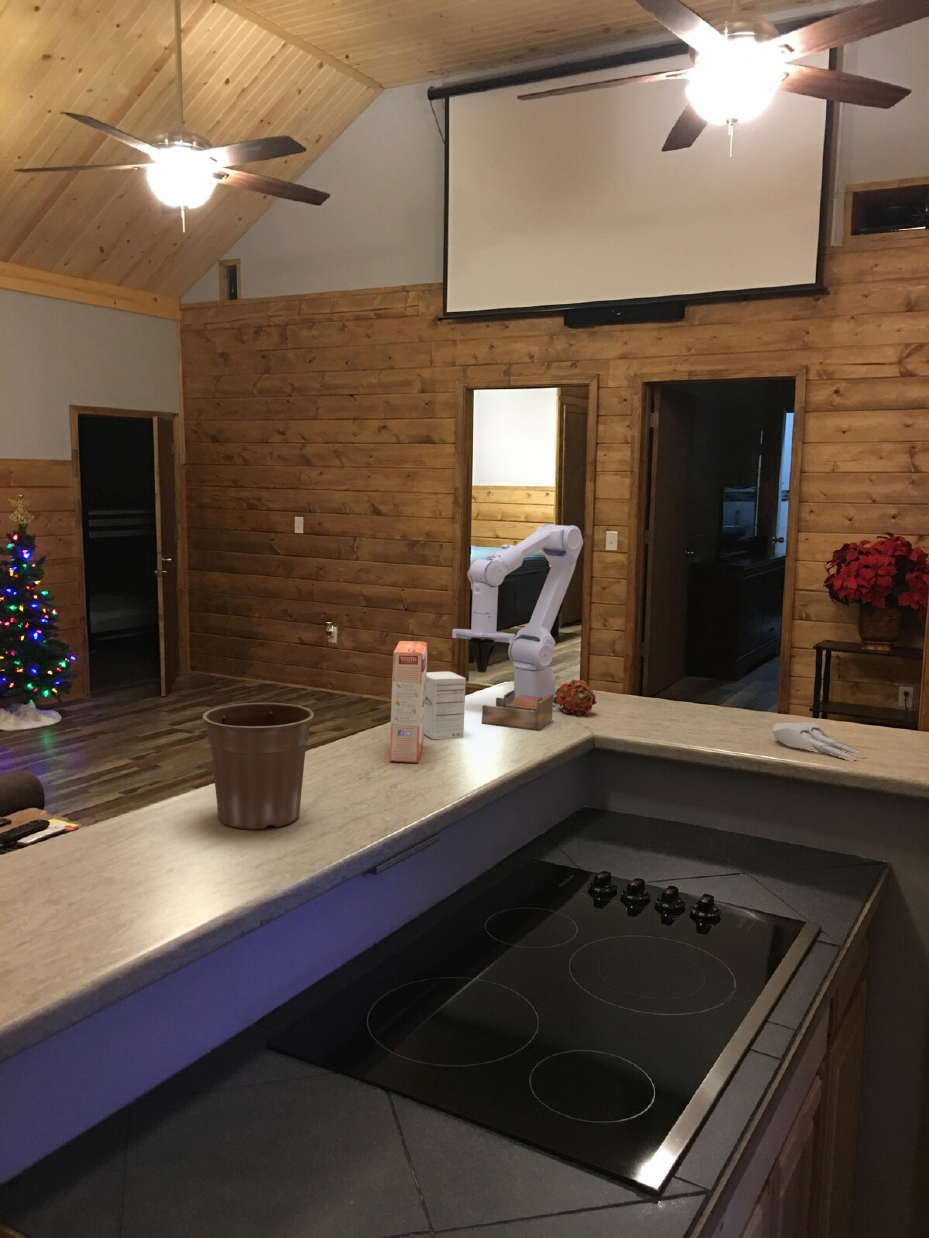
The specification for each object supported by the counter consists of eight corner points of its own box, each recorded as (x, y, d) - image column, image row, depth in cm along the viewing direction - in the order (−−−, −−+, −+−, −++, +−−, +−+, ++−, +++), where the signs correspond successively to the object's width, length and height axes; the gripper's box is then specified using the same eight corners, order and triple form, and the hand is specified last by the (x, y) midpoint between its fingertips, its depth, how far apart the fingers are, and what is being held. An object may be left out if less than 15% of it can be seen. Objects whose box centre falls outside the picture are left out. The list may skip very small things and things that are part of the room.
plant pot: (184, 830, 145) (184, 721, 143) (225, 797, 161) (226, 698, 159) (293, 839, 143) (295, 729, 141) (324, 805, 159) (326, 705, 157)
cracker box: (420, 764, 185) (424, 652, 182) (388, 762, 185) (391, 651, 182) (425, 745, 199) (428, 640, 196) (394, 743, 199) (397, 639, 196)
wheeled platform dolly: (501, 715, 218) (502, 695, 217) (512, 709, 225) (513, 689, 224) (535, 720, 215) (536, 699, 215) (545, 713, 222) (546, 692, 222)
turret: (845, 775, 197) (851, 753, 196) (759, 738, 211) (764, 718, 210) (869, 767, 204) (875, 745, 203) (784, 732, 218) (789, 712, 217)
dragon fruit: (589, 725, 227) (557, 722, 237) (611, 701, 231) (578, 698, 241) (570, 697, 224) (538, 695, 234) (593, 673, 228) (561, 671, 238)
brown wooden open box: (481, 723, 218) (482, 696, 218) (496, 714, 228) (497, 688, 227) (538, 730, 214) (540, 703, 213) (551, 721, 223) (553, 694, 222)
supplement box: (417, 731, 209) (419, 672, 208) (449, 729, 212) (452, 670, 211) (431, 740, 203) (433, 678, 201) (464, 737, 206) (466, 677, 204)
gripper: (448, 611, 226) (446, 671, 227) (509, 617, 221) (506, 677, 222) (459, 608, 232) (457, 666, 234) (519, 613, 227) (516, 672, 229)
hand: (482, 671), depth 229 cm, fingers closed
